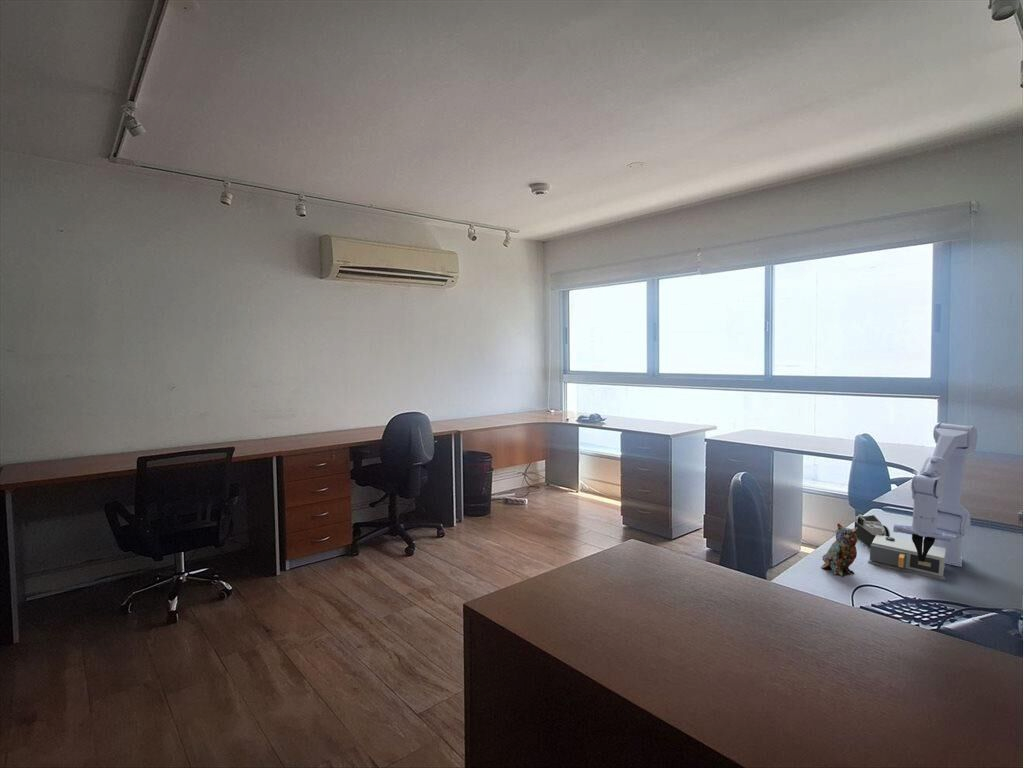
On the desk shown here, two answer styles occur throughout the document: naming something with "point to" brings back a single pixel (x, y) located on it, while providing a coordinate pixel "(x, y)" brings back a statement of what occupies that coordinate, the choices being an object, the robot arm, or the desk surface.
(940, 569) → the camera case
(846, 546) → the figurine
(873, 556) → the side door
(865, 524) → the camera
